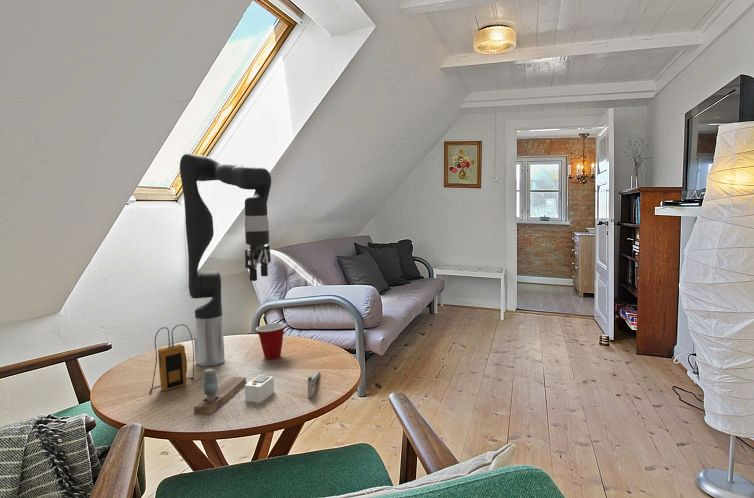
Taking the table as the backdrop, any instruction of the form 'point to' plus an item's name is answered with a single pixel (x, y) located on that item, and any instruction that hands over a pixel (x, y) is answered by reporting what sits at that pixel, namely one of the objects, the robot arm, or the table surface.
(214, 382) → the grey stepped cylinder
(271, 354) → the plastic cup
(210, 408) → the bar
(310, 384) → the caliper
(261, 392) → the block
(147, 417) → the table surface
